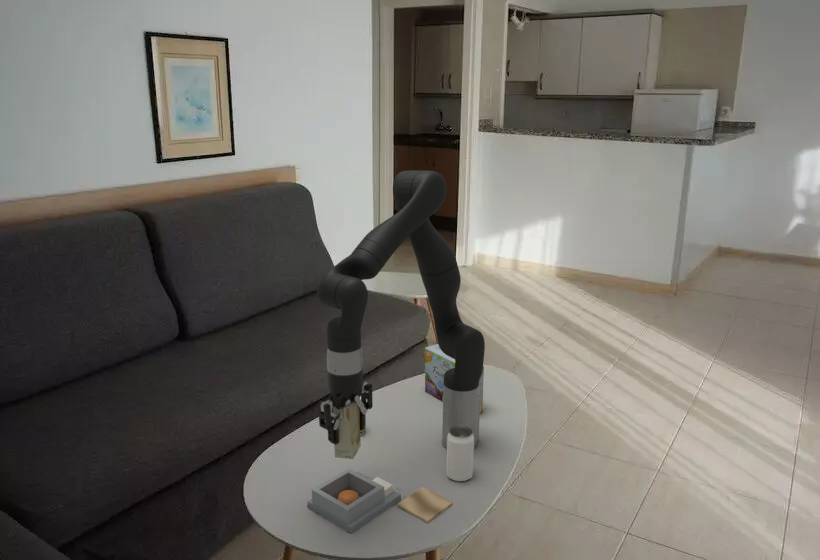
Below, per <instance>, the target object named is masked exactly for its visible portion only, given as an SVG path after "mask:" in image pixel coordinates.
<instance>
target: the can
mask: <svg viewBox="0 0 820 560" xmlns="http://www.w3.org/2000/svg"><path fill="white" fill-rule="evenodd" d="M472 433H473V431H472V429H470V428H469V427H466V426H454V427H452V428H450V430H449V434H448V436H447V448H446V477H448V479H450V480H451V479H452V480H451V481H453V480H455V481H454V482H457V481H464V482H467V481H469V480H470V479H471V478H472V477H473V474H474V452H475V451H474V449H475V448H474V436H473V434H472ZM468 479H469V480H468ZM466 480H467V481H466Z"/></svg>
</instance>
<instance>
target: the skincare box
mask: <svg viewBox="0 0 820 560" xmlns="http://www.w3.org/2000/svg"><path fill="white" fill-rule="evenodd" d="M340 410H341V408H340ZM340 410H338V409H337V408H336V407H335V406H333V413H335V414H337V415H338V414H339V412H340ZM334 421H335V417H333V423H334ZM338 434H339V443H338V444H336V445H335V444H333V445H334V448H333V449H334V458H335V459H336V458H337V459H347V460H354V459H355V457H356V455H357V453H358V452H359V449H360V448H361V435H360V410H359V409H358V406H357V403H356V402H354V401H353V402H351V403H350V404H349V406H347V407H345V408H344V417H343V419H342V420H340V423H339V425H338Z"/></svg>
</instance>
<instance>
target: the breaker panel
mask: <svg viewBox="0 0 820 560" xmlns="http://www.w3.org/2000/svg"><path fill="white" fill-rule="evenodd" d="M345 490H353V491H355V492H357V493H358V499H357V500H355V501H354V502H352V503H351V504H349V505H346V504H344V503H342V502H341V501H339V500H338V495H339V494H340V493H341V492H342V491H345ZM401 501H402V494H401V493H400V492H398V491H396V490H394V485H393V484H392V483H390V482H388V481H386V480H384V479H381V478H380V477H378V476H376V477H375V478H371V477H370V476H367V475H365V474H364V473H362V472H359V471H355V470H353V469H351V468H349V467H348V468H347V469H345V470H343V471H341V472H339V473H338V474H337V475H334V476H333V477H331V478H329V479H327V480H326V481H324V482H322V483H320V484H319V485H317V486H316V487H315V486H314V488H311V499H310V500H308V501H307V508H308V509H310V510H311V511H312V512H313V511H314V513H317V514H319V515H320V516H322V517H323V518H324V519H326V520H328V521H330V522H331V523H333V524H335V525H337V526H338V527H339V528H341V529H342V530H344V531H346V532H348V533H349V534H353V533H355V531H358V530H359V529H361V528H363V526H365V525H366V524H368V523H370V522H371V521H373V520H374V519H375V518H377V517H378V516H380V515H381V514H383V513H384V512H386V511H387V510H388V509H389V508H391V507H393V506H394V505H396V504H398V503H400V502H401Z"/></svg>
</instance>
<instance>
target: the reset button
mask: <svg viewBox="0 0 820 560" xmlns="http://www.w3.org/2000/svg"><path fill="white" fill-rule="evenodd" d="M357 499H359V496H358V493H357V492H355V491H353V490H345V491H342V492H341V493H340V494H339V495H338V498H337V500H339V501H341V502H342V503H344V504H346V505H349V504H351V503H352V502H354V501H355V500H357Z"/></svg>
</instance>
